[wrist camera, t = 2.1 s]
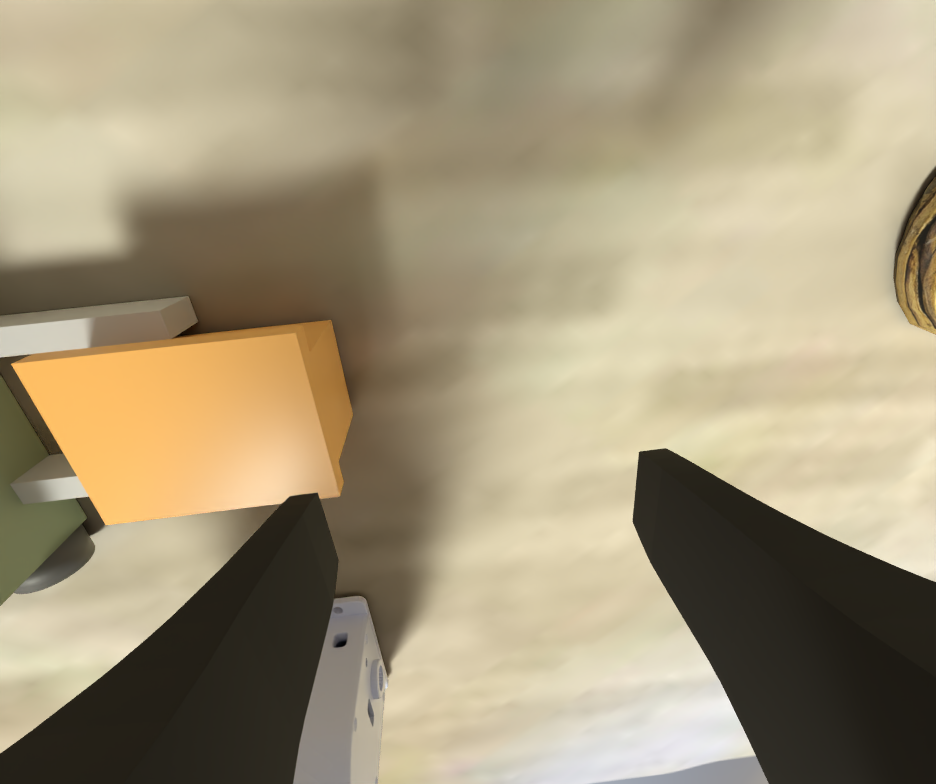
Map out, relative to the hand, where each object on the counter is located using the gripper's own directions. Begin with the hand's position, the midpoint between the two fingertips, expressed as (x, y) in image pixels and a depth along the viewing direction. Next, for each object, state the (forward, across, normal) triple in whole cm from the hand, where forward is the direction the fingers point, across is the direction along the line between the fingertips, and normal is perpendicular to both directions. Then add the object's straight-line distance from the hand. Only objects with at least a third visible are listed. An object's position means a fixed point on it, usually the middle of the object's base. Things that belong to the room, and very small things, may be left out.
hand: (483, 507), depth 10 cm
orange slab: (+9, +9, 0) cm, 13 cm away
